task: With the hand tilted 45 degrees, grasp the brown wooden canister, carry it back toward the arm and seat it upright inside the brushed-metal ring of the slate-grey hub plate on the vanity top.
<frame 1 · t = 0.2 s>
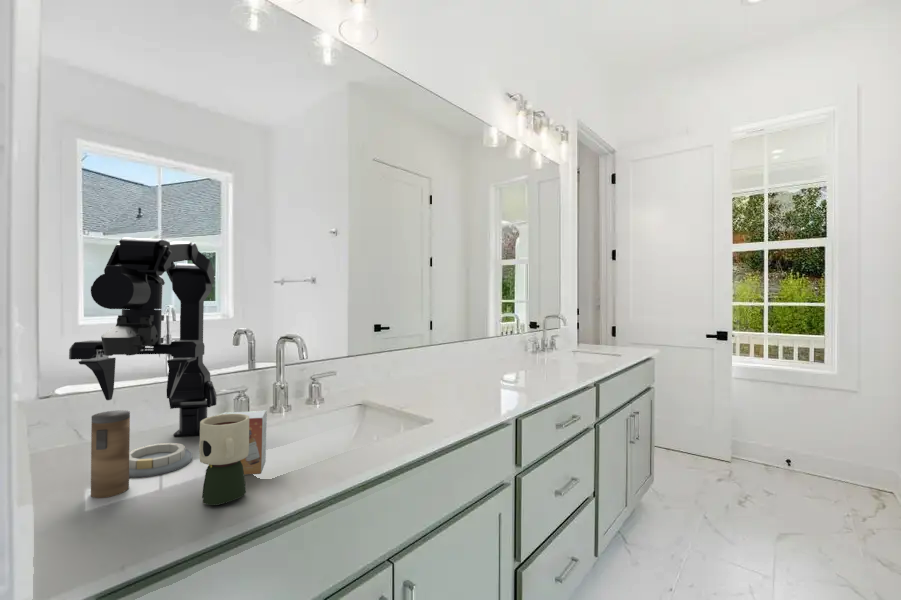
hand: (139, 398, 75), 14 cm above the worktop, tool pointing down, fingers open, 9 cm apart
character mug: (224, 500, 70), on the worktop
small box: (241, 471, 81), on the worktop
hub: (155, 464, 83), on the worktop
brown wooden canister: (110, 490, 72), on the worktop
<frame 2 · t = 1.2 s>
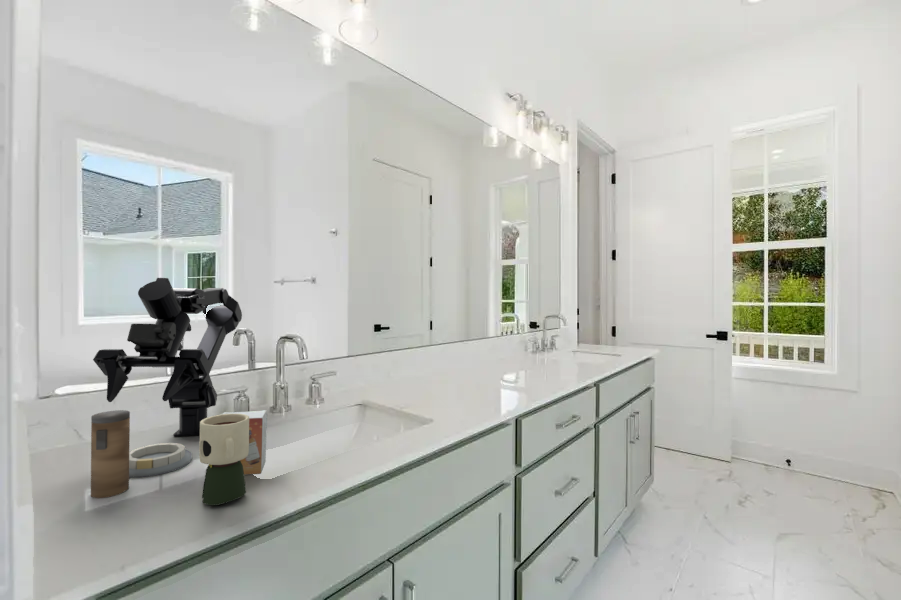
hand: (136, 400, 79), 13 cm above the worktop, tool tilted 45°, fingers open, 9 cm apart
nothing on the worktop moved.
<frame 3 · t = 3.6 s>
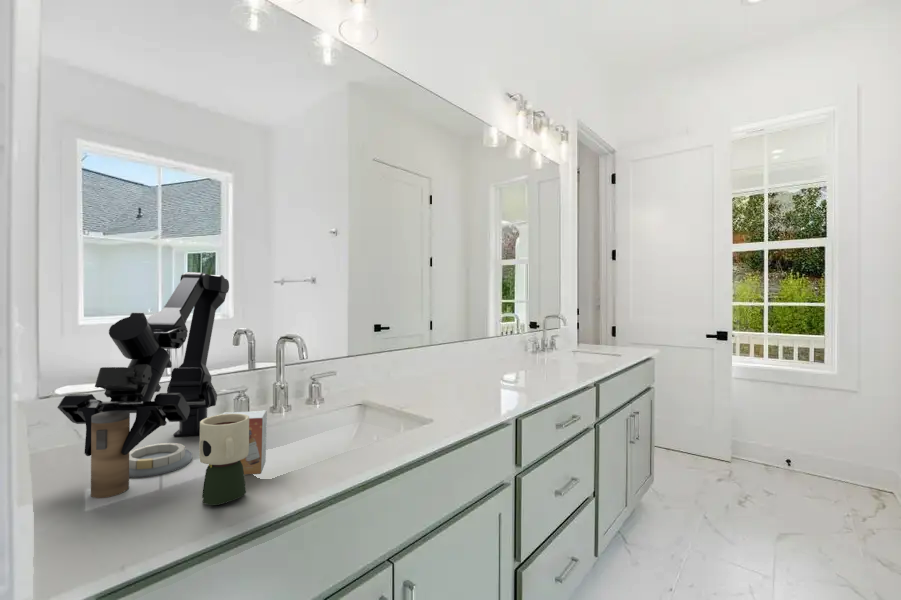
hand: (105, 454, 70), 7 cm above the worktop, tool tilted 45°, fingers closed on brown wooden canister, 5 cm apart
brown wooden canister: (110, 490, 72), on the worktop, touching gripper
everything else where it was.
when the fingers open (8 cm above the worktop, at t = 6.8 s): brown wooden canister stays where it is, resting on hub.
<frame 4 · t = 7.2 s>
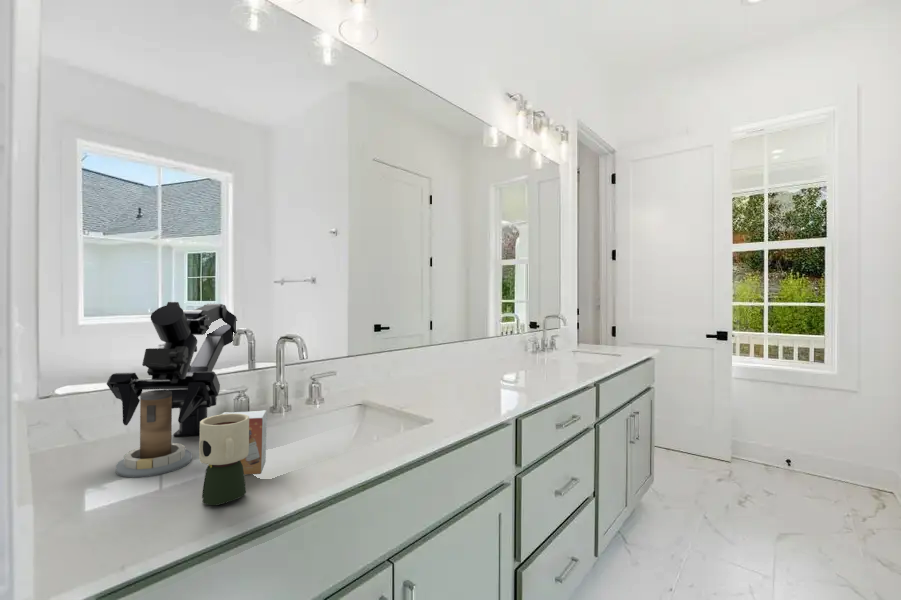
hand: (152, 423, 82), 8 cm above the worktop, tool tilted 45°, fingers open, 9 cm apart
brown wooden canister: (155, 458, 83), point 1 cm above the worktop, touching hub
everything else where it was.
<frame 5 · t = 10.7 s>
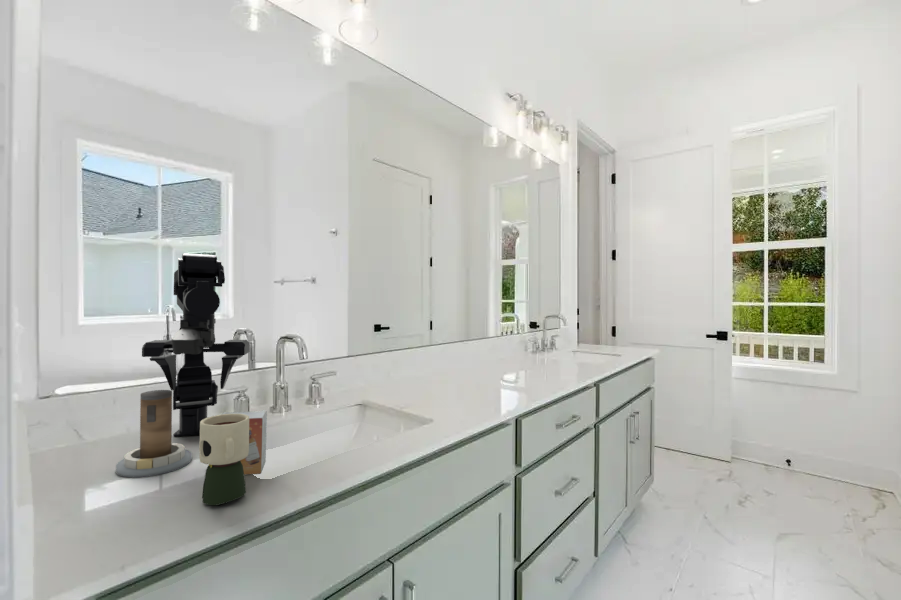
hand: (198, 389, 90), 13 cm above the worktop, tool pointing down, fingers open, 9 cm apart
nothing on the worktop moved.
at the end: brown wooden canister 0.1 cm off-centre on the hub, point 1.0 cm above the hub's base; brown wooden canister tilted 0°; the gripper is holding nothing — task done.
